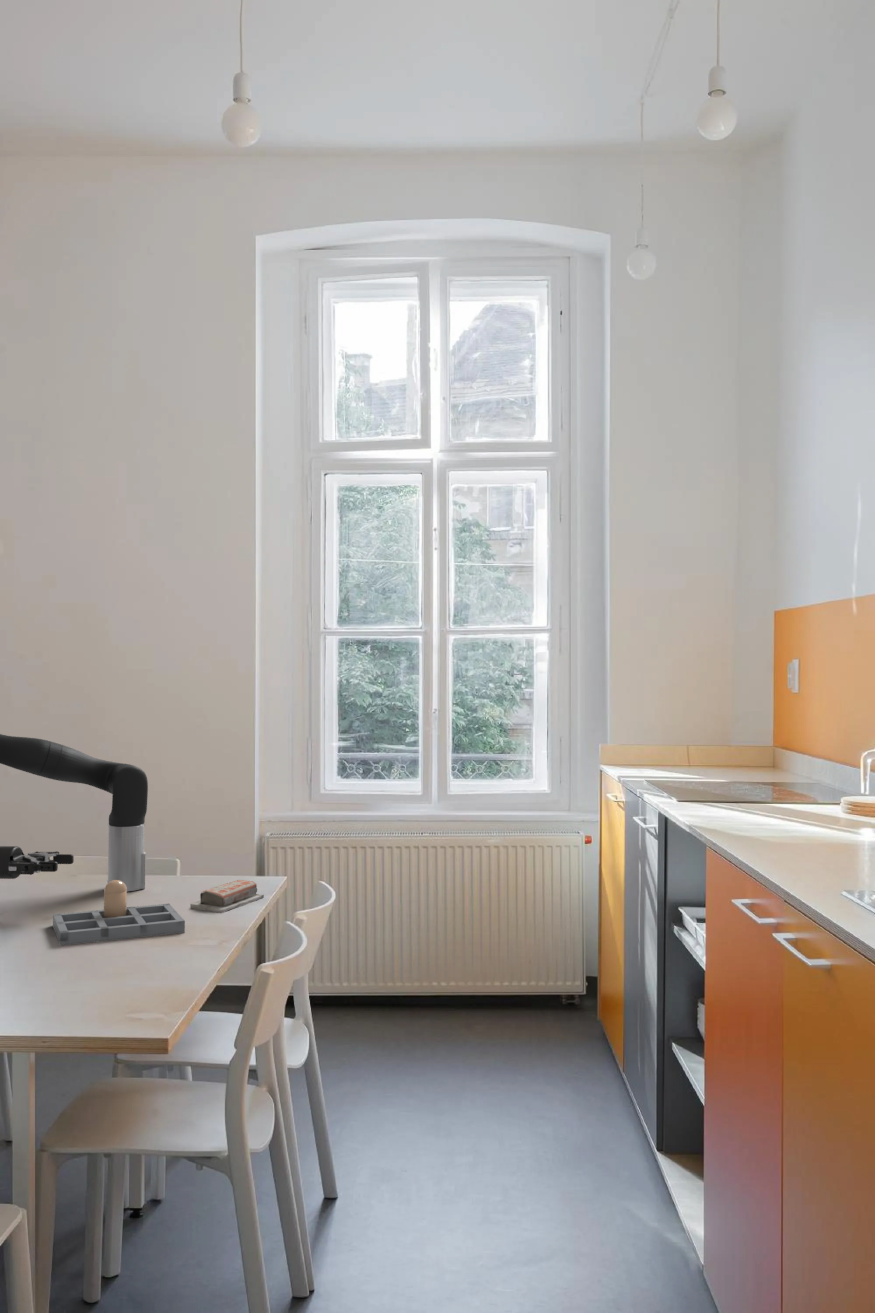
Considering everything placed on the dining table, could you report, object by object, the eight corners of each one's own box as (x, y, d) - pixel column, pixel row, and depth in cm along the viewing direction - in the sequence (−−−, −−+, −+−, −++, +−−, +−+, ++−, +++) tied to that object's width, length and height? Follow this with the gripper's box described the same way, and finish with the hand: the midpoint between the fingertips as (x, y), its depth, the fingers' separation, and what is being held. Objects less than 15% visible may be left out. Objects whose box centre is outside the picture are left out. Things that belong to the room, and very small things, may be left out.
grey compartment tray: (168, 914, 237) (169, 903, 237) (184, 932, 221) (184, 920, 221) (52, 925, 225) (53, 914, 225) (60, 945, 209) (60, 933, 209)
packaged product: (232, 877, 259) (264, 881, 255) (232, 895, 259) (264, 899, 255) (189, 890, 243) (223, 895, 239) (189, 910, 243) (222, 915, 239)
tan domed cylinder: (124, 917, 230) (125, 877, 230) (127, 923, 225) (128, 881, 225) (101, 919, 227) (102, 878, 228) (105, 925, 223) (106, 883, 223)
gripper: (-18, 852, 224) (51, 852, 223) (12, 841, 238) (78, 841, 237) (-18, 885, 224) (51, 885, 223) (12, 872, 238) (78, 872, 237)
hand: (65, 863), depth 230 cm, fingers open, 8 cm apart
